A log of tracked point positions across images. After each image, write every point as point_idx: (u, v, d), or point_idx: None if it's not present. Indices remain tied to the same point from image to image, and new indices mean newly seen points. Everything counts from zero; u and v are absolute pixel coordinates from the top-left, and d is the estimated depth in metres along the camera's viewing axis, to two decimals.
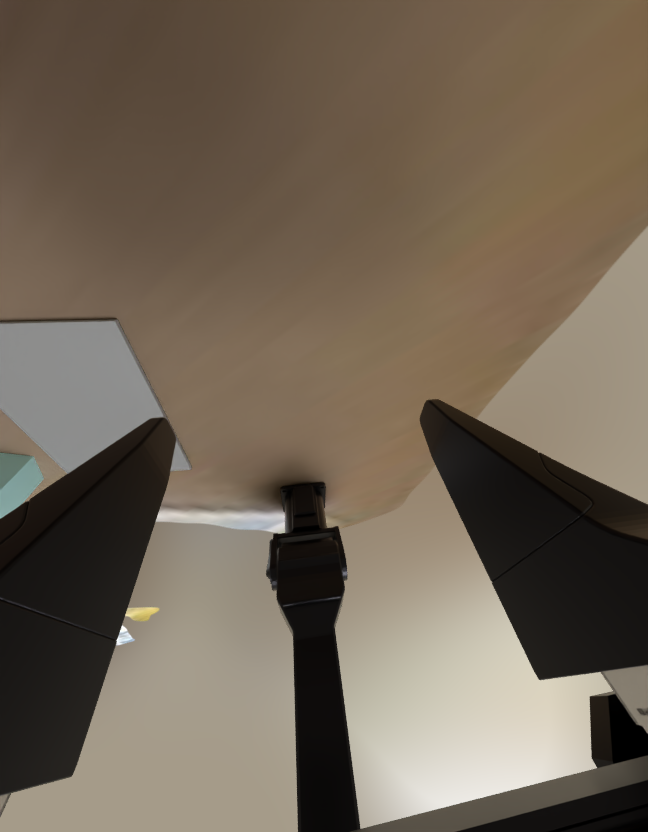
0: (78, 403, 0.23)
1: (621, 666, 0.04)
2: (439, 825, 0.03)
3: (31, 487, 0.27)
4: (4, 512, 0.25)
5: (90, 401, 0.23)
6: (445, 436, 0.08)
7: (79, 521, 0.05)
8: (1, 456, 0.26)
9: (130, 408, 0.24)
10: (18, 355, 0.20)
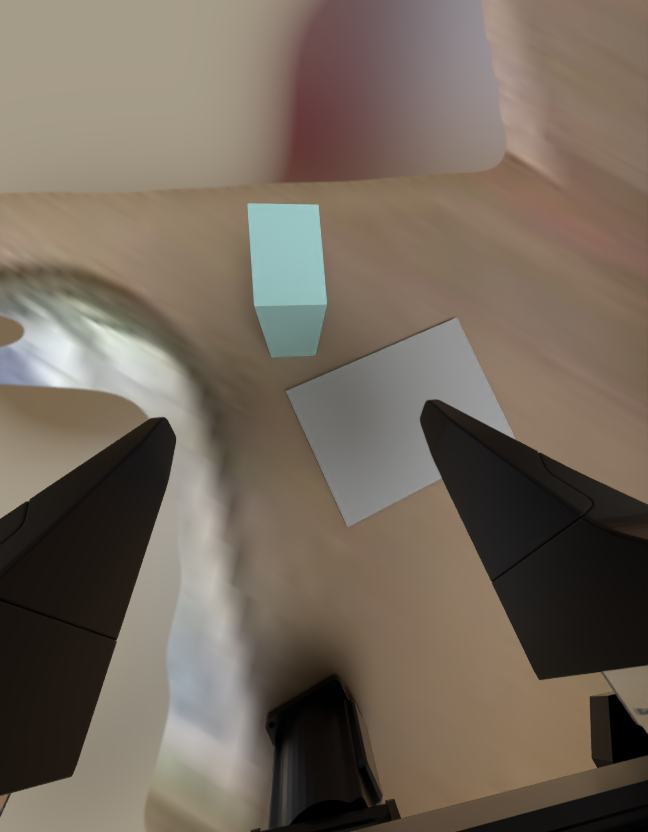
0: (419, 407, 0.23)
1: (621, 666, 0.04)
2: (439, 825, 0.03)
3: (277, 351, 0.21)
4: (281, 335, 0.18)
5: None
6: (445, 436, 0.08)
7: (79, 521, 0.05)
8: None
9: None
10: (456, 372, 0.24)
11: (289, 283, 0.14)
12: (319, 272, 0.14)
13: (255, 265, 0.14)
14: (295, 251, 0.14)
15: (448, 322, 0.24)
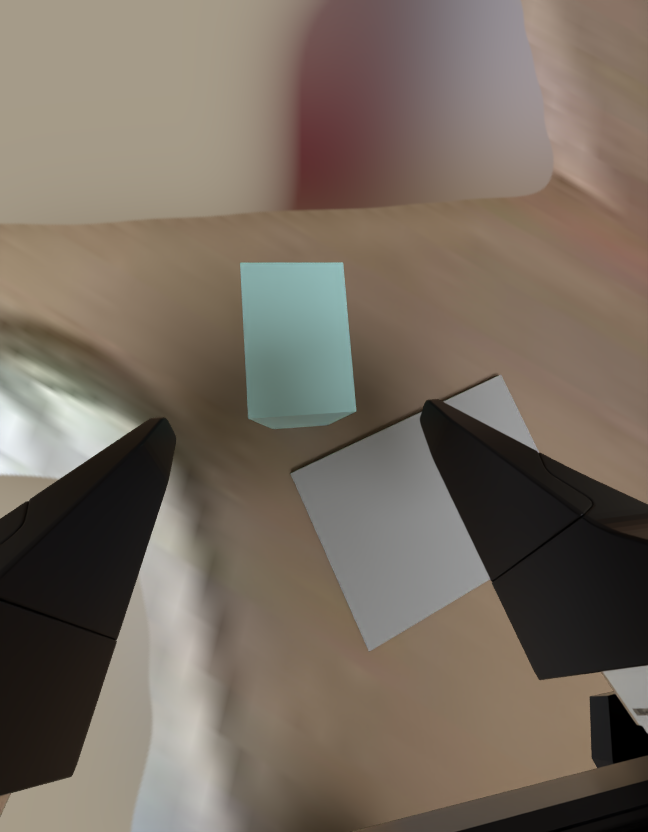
0: None
1: (621, 666, 0.04)
2: (439, 825, 0.03)
3: (280, 427, 0.16)
4: (286, 423, 0.13)
5: None
6: (445, 436, 0.08)
7: (79, 521, 0.05)
8: None
9: (471, 547, 0.18)
10: None
11: (301, 381, 0.09)
12: (344, 362, 0.10)
13: (250, 355, 0.09)
14: (309, 333, 0.10)
15: (491, 381, 0.20)
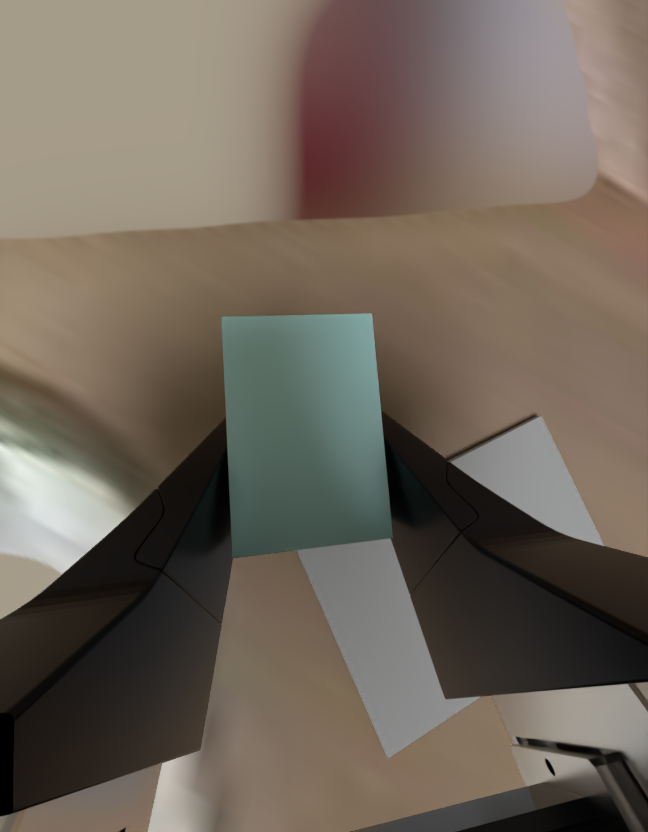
0: None
1: (494, 692, 0.04)
2: (439, 825, 0.03)
3: None
4: None
5: None
6: None
7: (205, 508, 0.05)
8: None
9: None
10: (543, 499, 0.16)
11: (312, 496, 0.06)
12: (375, 463, 0.07)
13: (236, 458, 0.06)
14: (324, 421, 0.06)
15: (530, 424, 0.17)
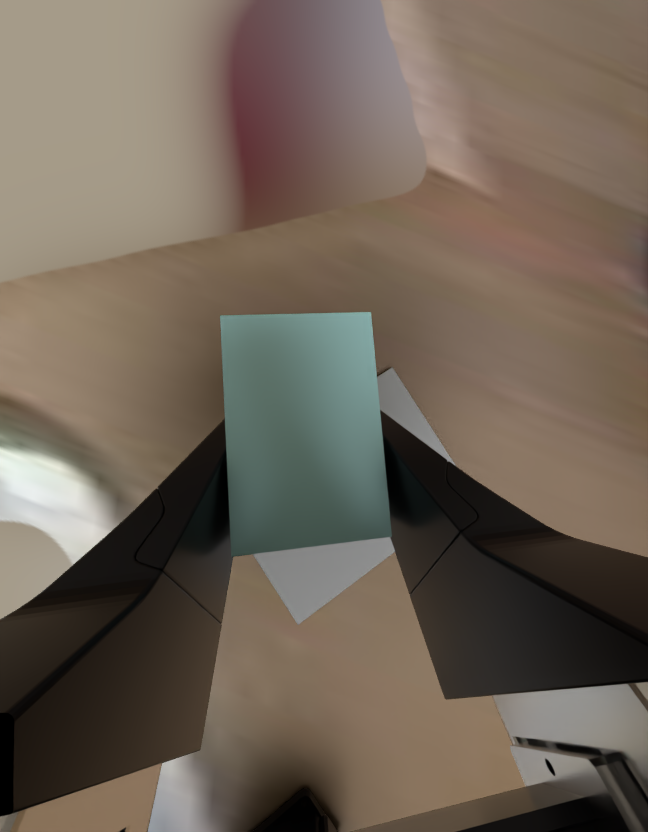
0: None
1: (494, 692, 0.04)
2: (439, 825, 0.03)
3: None
4: None
5: None
6: None
7: (205, 508, 0.05)
8: None
9: None
10: None
11: (310, 494, 0.06)
12: (374, 462, 0.07)
13: (235, 457, 0.06)
14: (323, 419, 0.07)
15: (383, 374, 0.22)
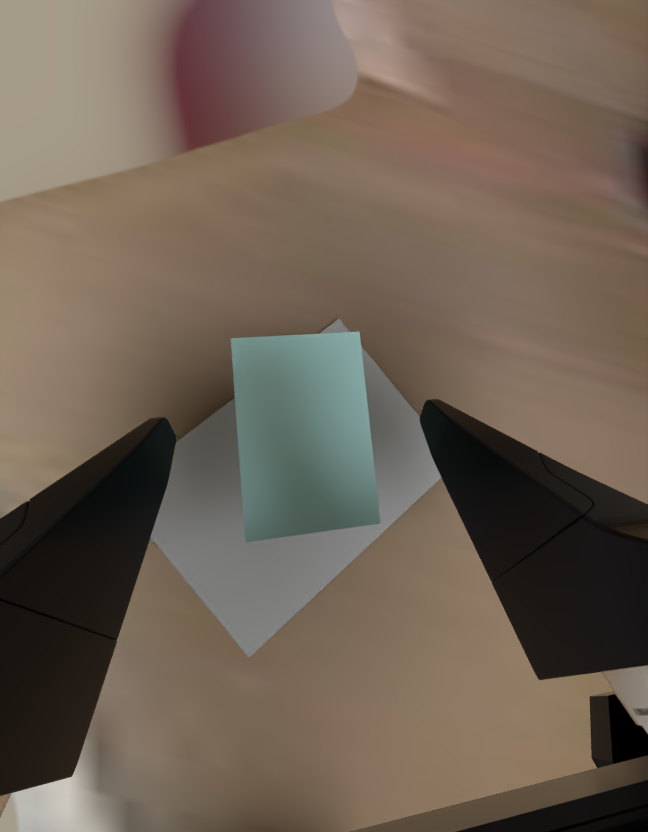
0: None
1: (621, 666, 0.04)
2: (440, 825, 0.03)
3: None
4: None
5: None
6: (445, 436, 0.08)
7: (79, 521, 0.05)
8: None
9: None
10: None
11: (311, 489, 0.07)
12: (364, 460, 0.08)
13: (246, 459, 0.07)
14: (320, 425, 0.08)
15: (329, 328, 0.17)
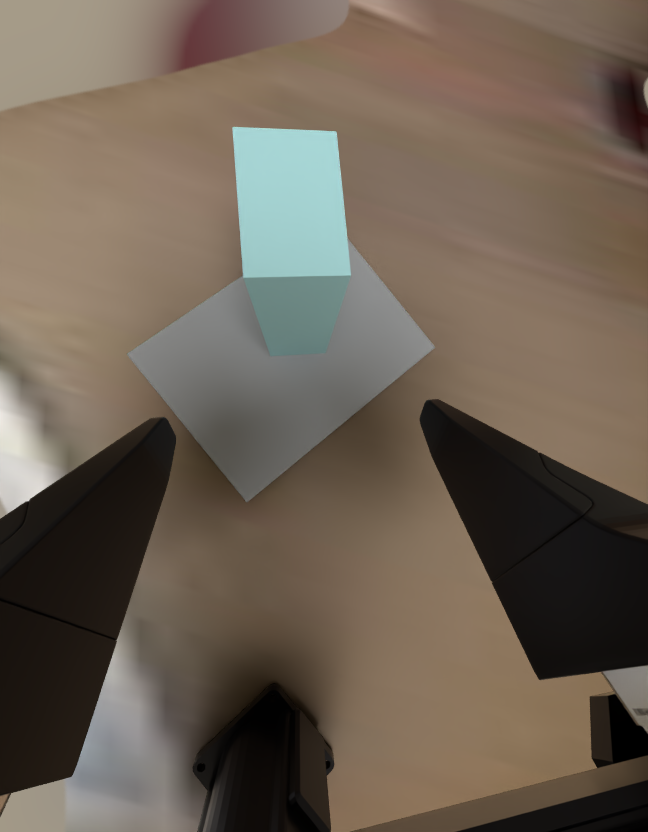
0: None
1: (621, 666, 0.04)
2: (439, 825, 0.03)
3: (277, 347, 0.17)
4: (283, 325, 0.13)
5: None
6: (445, 436, 0.08)
7: (79, 521, 0.05)
8: None
9: (332, 386, 0.18)
10: None
11: (296, 244, 0.09)
12: (339, 228, 0.10)
13: (244, 217, 0.09)
14: (303, 198, 0.10)
15: None
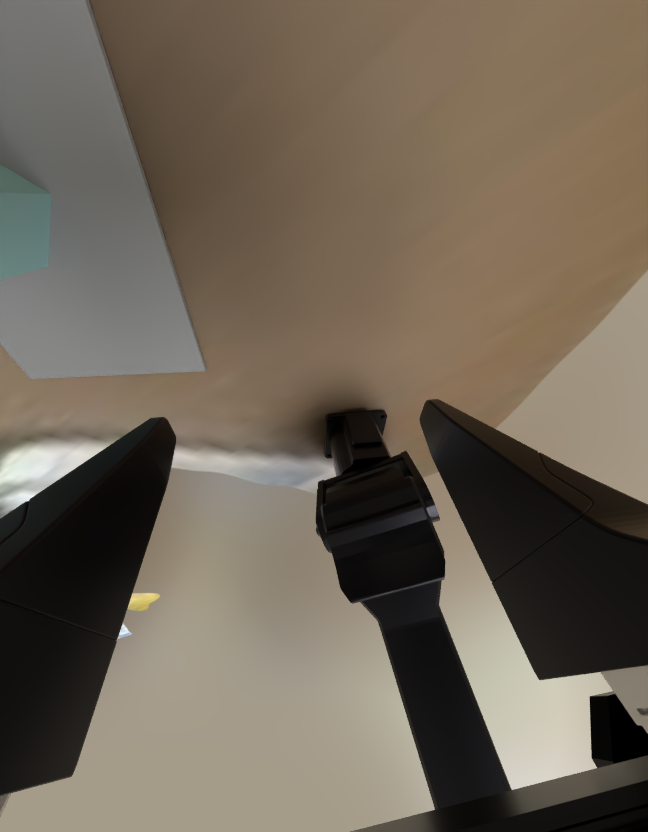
0: None
1: (621, 666, 0.04)
2: (439, 825, 0.03)
3: (27, 260, 0.14)
4: None
5: None
6: (445, 436, 0.08)
7: (79, 521, 0.05)
8: None
9: (109, 223, 0.14)
10: None
11: None
12: None
13: None
14: None
15: None
